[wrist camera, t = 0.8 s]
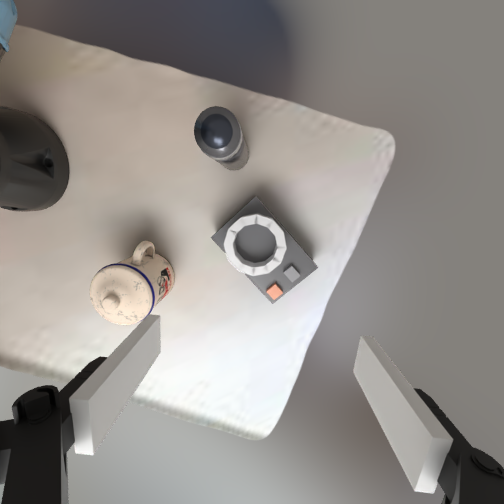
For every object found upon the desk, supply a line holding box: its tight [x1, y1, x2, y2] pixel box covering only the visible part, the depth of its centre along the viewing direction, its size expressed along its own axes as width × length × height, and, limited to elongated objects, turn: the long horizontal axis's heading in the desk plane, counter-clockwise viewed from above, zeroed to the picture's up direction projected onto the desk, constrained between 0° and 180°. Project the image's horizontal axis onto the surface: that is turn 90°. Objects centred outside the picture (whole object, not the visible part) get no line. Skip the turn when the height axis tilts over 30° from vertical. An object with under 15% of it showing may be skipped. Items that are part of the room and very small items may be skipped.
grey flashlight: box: [194, 106, 249, 170], centre depth 30 cm, size 5×5×13 cm
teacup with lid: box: [90, 241, 174, 325], centre depth 36 cm, size 12×9×12 cm
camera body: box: [211, 196, 318, 304], centre depth 36 cm, size 14×9×6 cm, turn 42°
